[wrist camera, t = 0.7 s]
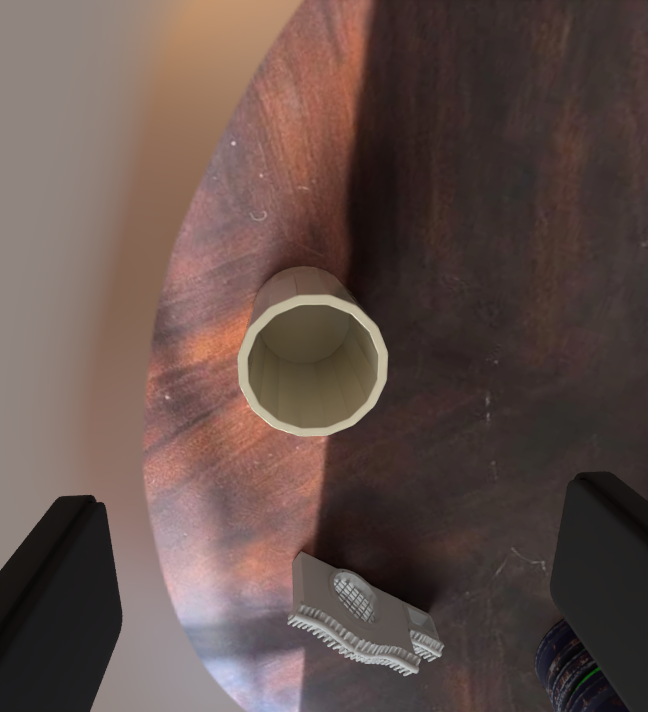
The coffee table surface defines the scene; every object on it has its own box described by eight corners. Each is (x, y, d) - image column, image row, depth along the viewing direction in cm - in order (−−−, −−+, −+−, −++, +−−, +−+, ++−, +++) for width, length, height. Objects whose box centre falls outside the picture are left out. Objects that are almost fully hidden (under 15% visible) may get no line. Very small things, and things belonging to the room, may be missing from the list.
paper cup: (249, 266, 26) (233, 295, 18) (356, 265, 27) (391, 293, 18) (254, 367, 28) (241, 439, 19) (353, 365, 28) (384, 433, 20)
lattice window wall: (433, 611, 35) (462, 689, 29) (419, 627, 35) (445, 707, 30) (299, 544, 32) (302, 616, 26) (284, 563, 32) (285, 638, 27)
